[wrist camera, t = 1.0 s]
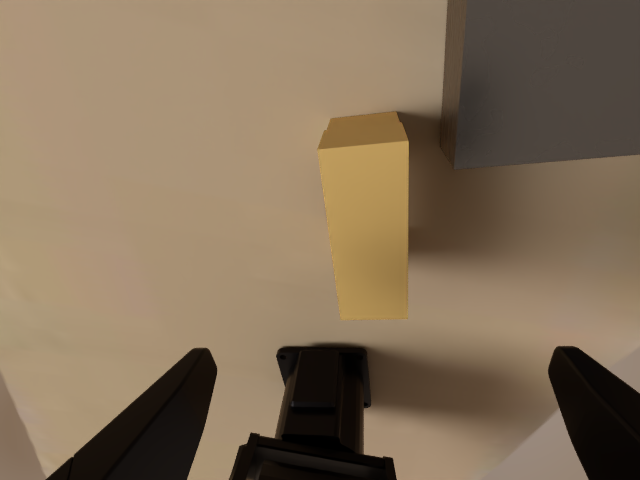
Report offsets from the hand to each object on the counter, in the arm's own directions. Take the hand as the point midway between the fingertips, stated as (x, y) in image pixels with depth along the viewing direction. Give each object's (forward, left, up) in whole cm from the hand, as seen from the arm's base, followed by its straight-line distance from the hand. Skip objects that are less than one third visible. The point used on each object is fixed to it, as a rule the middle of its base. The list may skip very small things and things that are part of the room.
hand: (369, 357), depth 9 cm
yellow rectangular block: (0, 0, -10) cm, 10 cm away
